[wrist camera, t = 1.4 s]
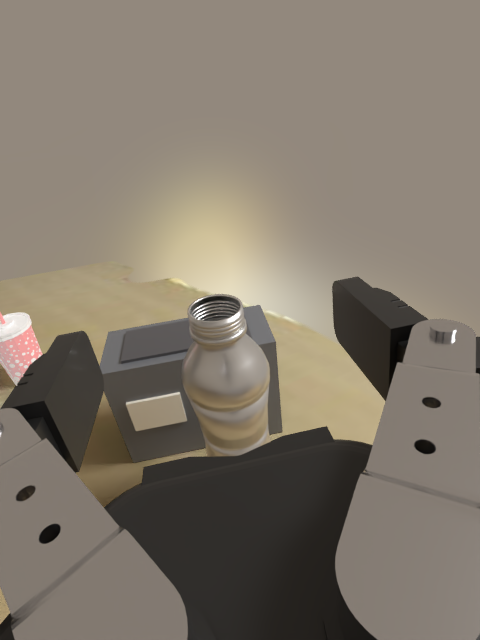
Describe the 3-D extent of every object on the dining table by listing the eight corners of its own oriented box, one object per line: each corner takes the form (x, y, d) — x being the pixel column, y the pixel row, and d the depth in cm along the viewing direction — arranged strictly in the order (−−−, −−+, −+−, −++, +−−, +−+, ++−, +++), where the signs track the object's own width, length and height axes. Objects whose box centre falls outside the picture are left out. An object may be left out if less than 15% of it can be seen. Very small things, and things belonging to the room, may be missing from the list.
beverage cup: (63, 367, 55) (23, 282, 47) (28, 395, 50) (-22, 306, 43) (35, 359, 57) (-7, 277, 50) (-1, 386, 53) (-53, 299, 45)
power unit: (138, 414, 45) (107, 329, 38) (267, 388, 46) (259, 302, 39) (133, 465, 39) (95, 374, 32) (283, 434, 40) (276, 340, 33)
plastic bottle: (246, 544, 31) (208, 351, 20) (197, 492, 35) (145, 311, 25) (297, 492, 34) (287, 303, 24) (246, 450, 39) (220, 276, 28)
